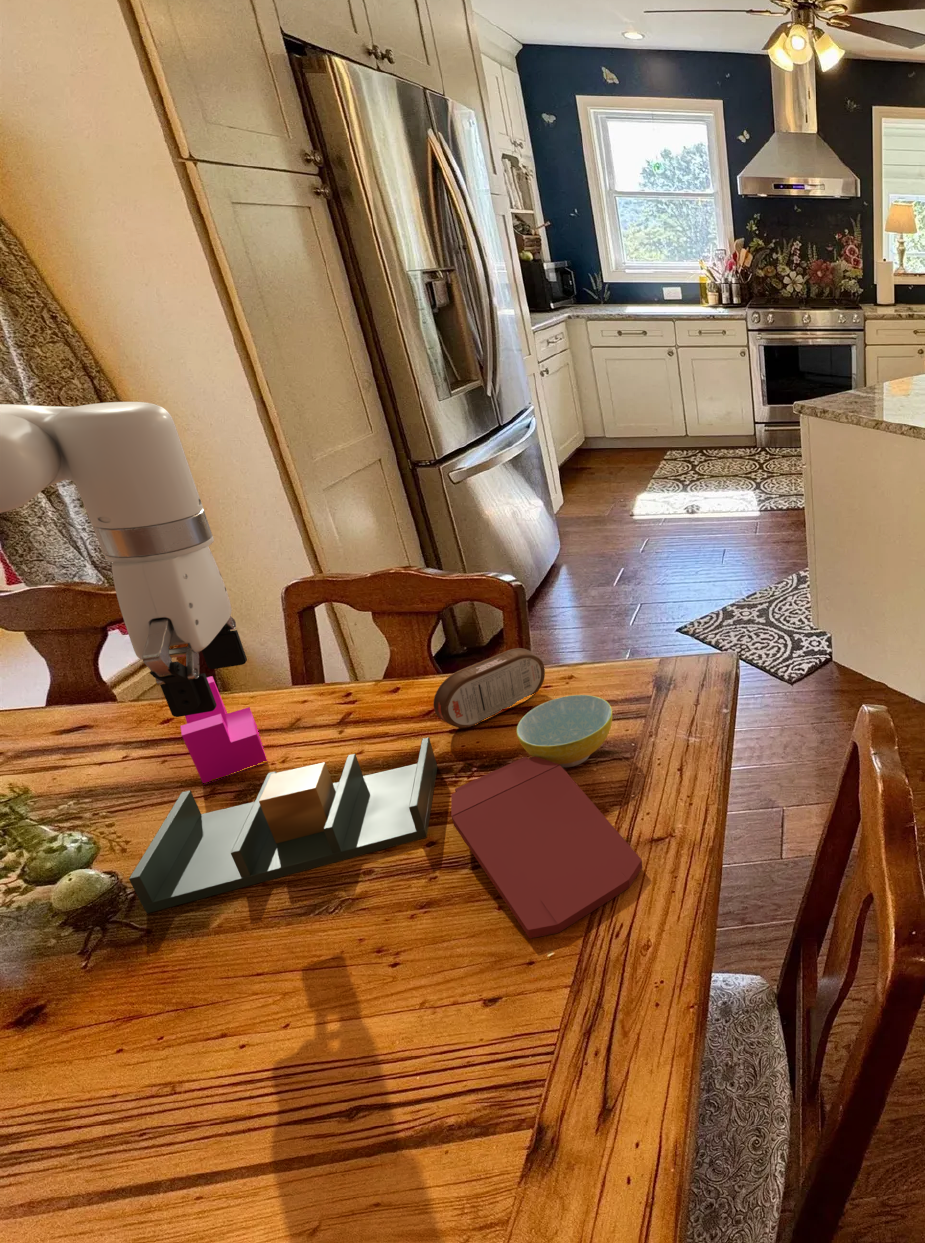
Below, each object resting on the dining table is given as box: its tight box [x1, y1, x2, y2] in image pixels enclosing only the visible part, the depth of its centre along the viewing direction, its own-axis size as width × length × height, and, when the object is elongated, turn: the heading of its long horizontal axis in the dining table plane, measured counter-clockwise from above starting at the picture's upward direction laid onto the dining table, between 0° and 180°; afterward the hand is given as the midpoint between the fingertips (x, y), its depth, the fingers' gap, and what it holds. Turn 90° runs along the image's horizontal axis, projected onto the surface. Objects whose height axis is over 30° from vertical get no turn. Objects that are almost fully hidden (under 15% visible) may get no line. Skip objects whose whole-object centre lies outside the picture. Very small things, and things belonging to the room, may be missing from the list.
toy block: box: [180, 675, 268, 786], centre depth 97 cm, size 15×6×8 cm, turn 45°
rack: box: [128, 737, 438, 914], centre depth 84 cm, size 24×14×5 cm, turn 117°
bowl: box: [516, 694, 613, 768], centre depth 97 cm, size 11×12×6 cm
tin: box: [433, 647, 546, 729], centre depth 106 cm, size 15×3×8 cm, turn 148°
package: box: [259, 761, 336, 843], centre depth 84 cm, size 5×5×6 cm
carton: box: [450, 756, 643, 939], centre depth 83 cm, size 12×5×25 cm
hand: (213, 688), depth 76 cm, fingers open, 9 cm apart
